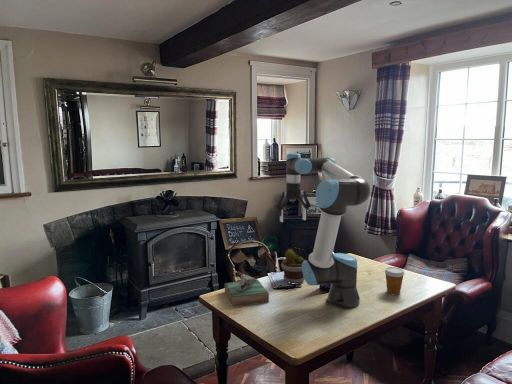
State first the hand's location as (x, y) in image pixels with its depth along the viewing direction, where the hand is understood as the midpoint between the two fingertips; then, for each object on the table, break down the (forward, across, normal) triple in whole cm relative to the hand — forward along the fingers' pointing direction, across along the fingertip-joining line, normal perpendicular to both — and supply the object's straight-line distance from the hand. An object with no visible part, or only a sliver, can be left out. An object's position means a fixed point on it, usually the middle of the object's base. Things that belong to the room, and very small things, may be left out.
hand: (292, 220), depth 207 cm
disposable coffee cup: (+34, -42, +33) cm, 63 cm away
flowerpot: (+34, 0, +2) cm, 34 cm away
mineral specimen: (+29, +31, +14) cm, 45 cm away
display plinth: (+34, +31, +13) cm, 48 cm away
